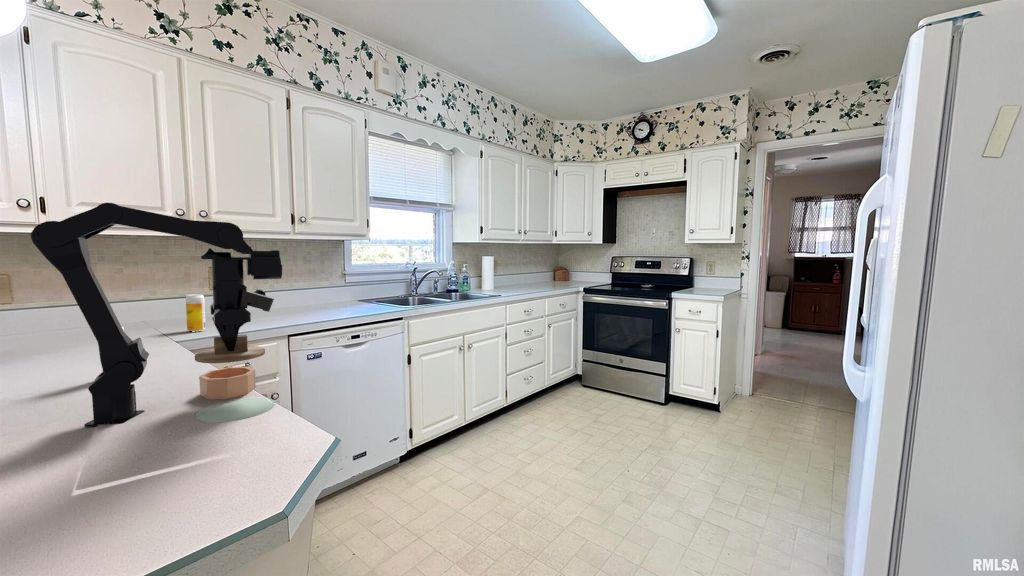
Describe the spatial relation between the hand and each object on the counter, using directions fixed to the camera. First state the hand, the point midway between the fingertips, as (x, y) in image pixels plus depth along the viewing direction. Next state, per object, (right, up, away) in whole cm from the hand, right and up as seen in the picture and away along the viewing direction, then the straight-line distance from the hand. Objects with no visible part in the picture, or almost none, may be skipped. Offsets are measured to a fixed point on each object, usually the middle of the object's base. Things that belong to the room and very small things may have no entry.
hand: (230, 349), depth 93 cm
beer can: (-67, -4, +78) cm, 103 cm away
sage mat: (+5, -12, -5) cm, 14 cm away
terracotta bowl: (-4, -11, +6) cm, 13 cm away
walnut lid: (0, -1, 0) cm, 1 cm away
